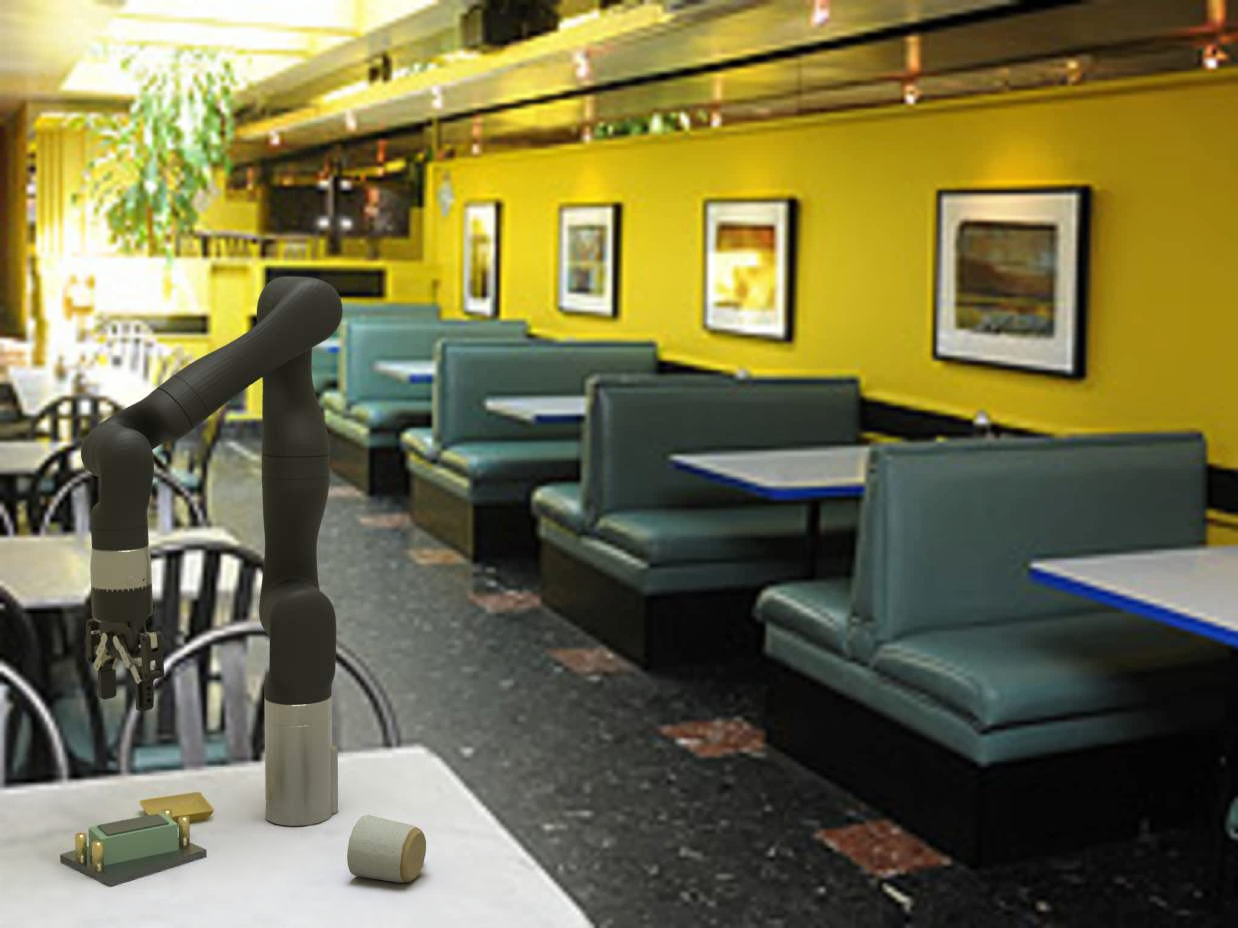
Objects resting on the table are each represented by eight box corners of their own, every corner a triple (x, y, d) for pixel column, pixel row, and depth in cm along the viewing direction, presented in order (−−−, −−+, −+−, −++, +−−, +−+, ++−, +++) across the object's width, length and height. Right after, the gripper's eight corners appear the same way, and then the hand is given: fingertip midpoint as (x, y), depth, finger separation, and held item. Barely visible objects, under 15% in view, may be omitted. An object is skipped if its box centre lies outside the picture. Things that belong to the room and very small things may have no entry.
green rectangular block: (164, 838, 214) (163, 810, 214) (178, 849, 210) (177, 821, 210) (89, 853, 208) (88, 825, 208) (101, 865, 204) (101, 836, 204)
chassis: (155, 833, 219) (154, 801, 218) (206, 856, 211) (206, 823, 210) (60, 861, 208) (59, 827, 208) (110, 886, 200) (109, 851, 200)
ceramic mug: (405, 892, 200) (406, 832, 199) (345, 884, 202) (345, 824, 202) (439, 864, 210) (439, 807, 209) (381, 856, 212) (382, 799, 212)
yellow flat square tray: (215, 823, 224) (214, 809, 224) (151, 833, 220) (151, 818, 220) (200, 805, 232) (199, 791, 231) (138, 814, 227) (138, 799, 227)
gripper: (178, 584, 205) (182, 708, 207) (116, 569, 214) (120, 688, 216) (127, 593, 199) (131, 720, 201) (65, 578, 208) (70, 699, 211)
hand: (125, 703), depth 209 cm, fingers open, 8 cm apart
